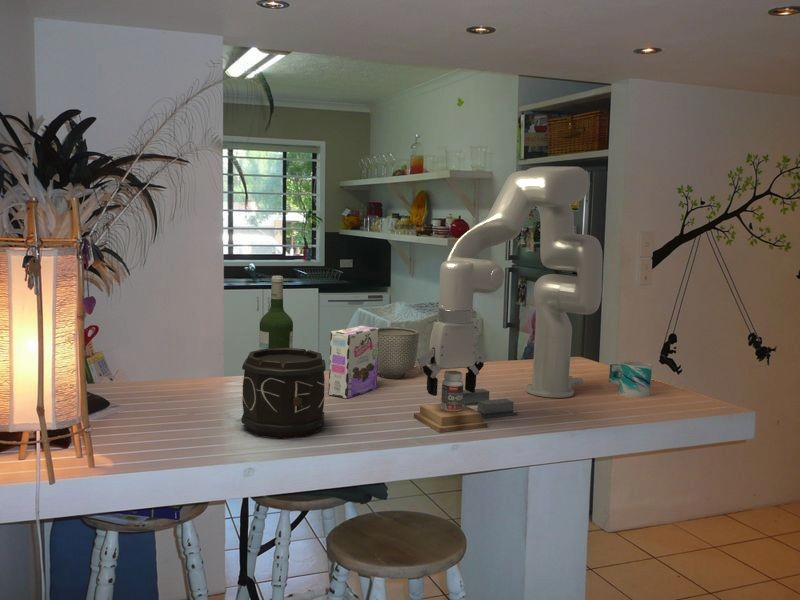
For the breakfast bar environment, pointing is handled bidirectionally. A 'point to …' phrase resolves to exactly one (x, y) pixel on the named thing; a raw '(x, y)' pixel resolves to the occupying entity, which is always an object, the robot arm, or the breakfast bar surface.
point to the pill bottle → (452, 391)
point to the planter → (396, 351)
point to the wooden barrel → (283, 392)
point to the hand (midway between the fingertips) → (451, 392)
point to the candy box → (353, 361)
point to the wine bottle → (276, 321)
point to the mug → (632, 378)
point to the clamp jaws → (488, 404)
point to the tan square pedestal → (449, 418)
